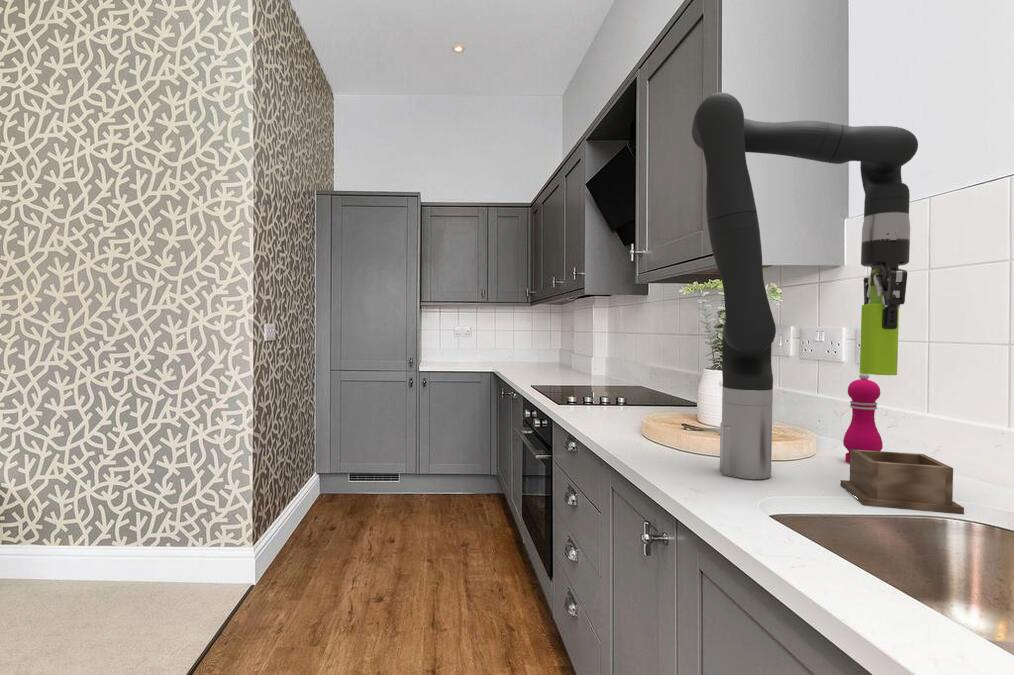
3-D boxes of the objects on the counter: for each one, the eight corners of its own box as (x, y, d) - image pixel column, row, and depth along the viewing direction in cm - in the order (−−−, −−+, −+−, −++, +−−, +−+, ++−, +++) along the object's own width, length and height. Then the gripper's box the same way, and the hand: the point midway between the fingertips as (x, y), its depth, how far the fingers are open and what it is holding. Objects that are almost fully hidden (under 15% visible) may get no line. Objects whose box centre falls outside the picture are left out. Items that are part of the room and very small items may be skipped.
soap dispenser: (909, 375, 100) (913, 266, 100) (868, 374, 101) (871, 266, 101) (893, 373, 106) (896, 270, 105) (854, 372, 107) (857, 270, 107)
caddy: (863, 505, 90) (864, 462, 90) (840, 485, 102) (841, 448, 102) (963, 514, 86) (965, 469, 86) (928, 492, 98) (929, 453, 98)
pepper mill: (851, 466, 116) (853, 373, 116) (837, 458, 123) (839, 370, 123) (889, 468, 115) (891, 373, 115) (872, 460, 122) (874, 371, 122)
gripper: (849, 246, 111) (847, 328, 111) (877, 234, 97) (874, 328, 97) (892, 245, 109) (889, 329, 109) (926, 233, 95) (923, 329, 95)
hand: (882, 328), depth 103 cm, fingers closed on soap dispenser, 6 cm apart
